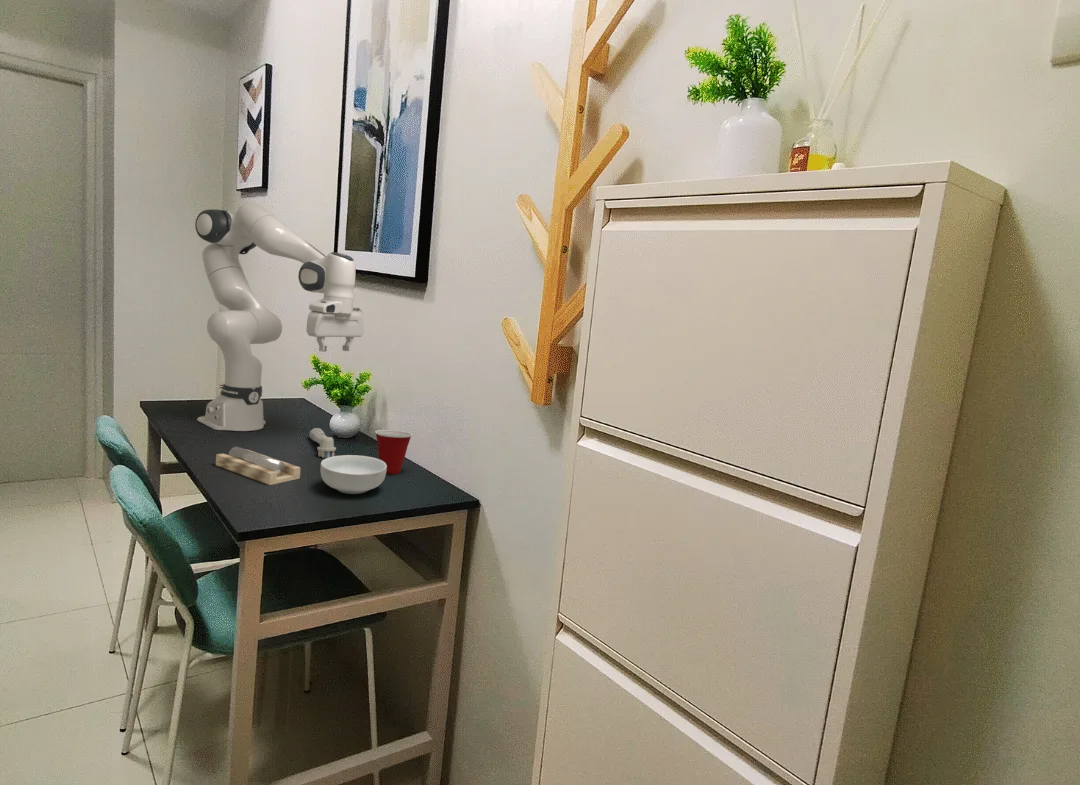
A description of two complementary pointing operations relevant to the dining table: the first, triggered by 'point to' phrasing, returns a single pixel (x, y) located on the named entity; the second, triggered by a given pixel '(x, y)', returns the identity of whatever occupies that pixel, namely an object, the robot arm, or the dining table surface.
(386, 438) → the plastic cup
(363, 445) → the dining table surface
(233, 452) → the axle
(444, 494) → the dining table surface
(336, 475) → the cereal bowl
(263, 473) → the v block
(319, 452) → the toothbrush head
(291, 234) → the robot arm
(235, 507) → the dining table surface
